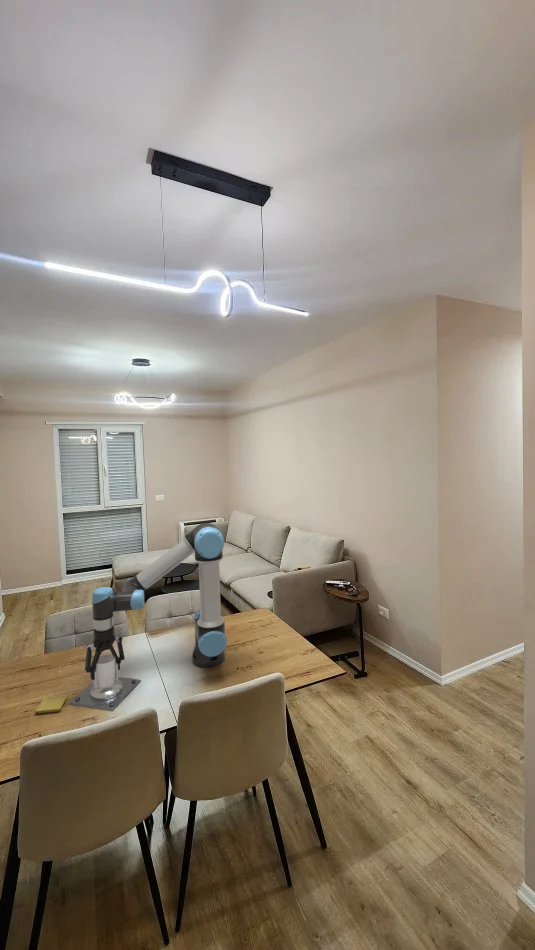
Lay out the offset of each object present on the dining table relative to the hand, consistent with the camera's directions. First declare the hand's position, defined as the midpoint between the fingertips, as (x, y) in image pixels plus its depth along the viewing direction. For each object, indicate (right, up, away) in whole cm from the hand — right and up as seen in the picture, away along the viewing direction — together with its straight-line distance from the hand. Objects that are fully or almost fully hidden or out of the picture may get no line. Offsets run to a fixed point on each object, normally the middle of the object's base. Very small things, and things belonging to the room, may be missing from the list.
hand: (106, 682), depth 158 cm
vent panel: (0, -4, 0) cm, 4 cm away
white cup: (0, 0, 0) cm, 0 cm away
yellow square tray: (-17, -6, -8) cm, 20 cm away
